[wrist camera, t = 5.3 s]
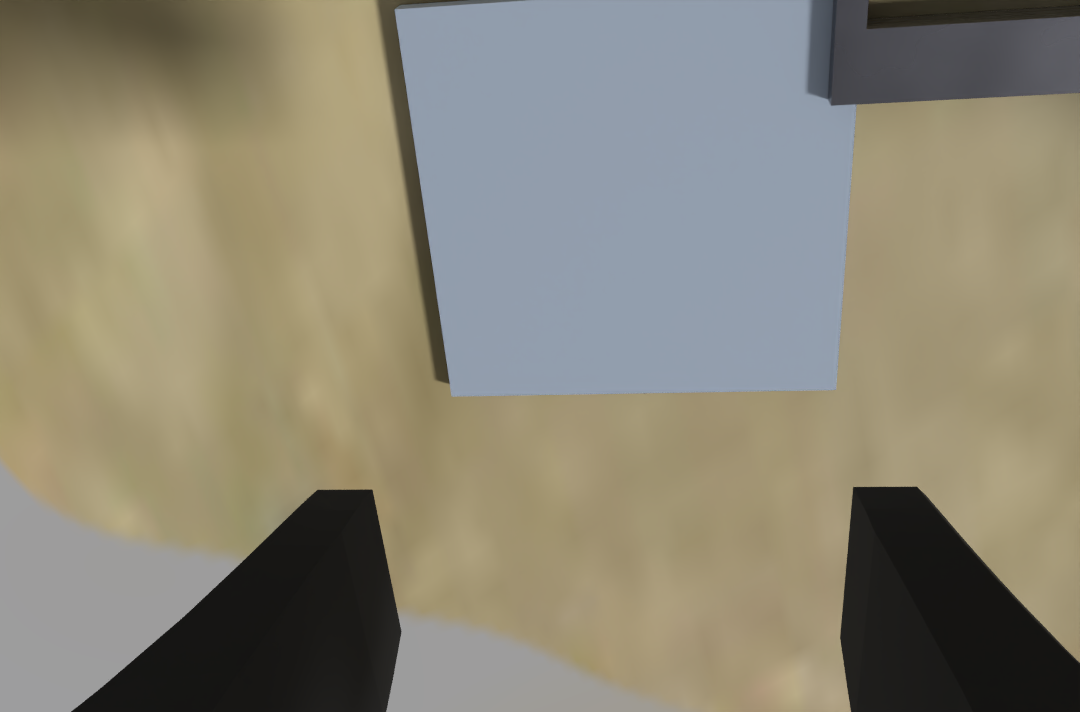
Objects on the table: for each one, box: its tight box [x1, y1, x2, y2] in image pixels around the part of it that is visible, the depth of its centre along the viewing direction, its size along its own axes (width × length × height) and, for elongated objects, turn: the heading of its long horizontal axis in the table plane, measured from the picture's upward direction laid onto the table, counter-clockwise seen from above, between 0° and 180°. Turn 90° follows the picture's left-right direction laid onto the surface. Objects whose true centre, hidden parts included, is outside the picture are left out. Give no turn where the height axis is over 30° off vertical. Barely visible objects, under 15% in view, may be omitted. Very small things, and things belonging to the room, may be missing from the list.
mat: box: [395, 0, 856, 396], centre depth 19 cm, size 8×8×1 cm
